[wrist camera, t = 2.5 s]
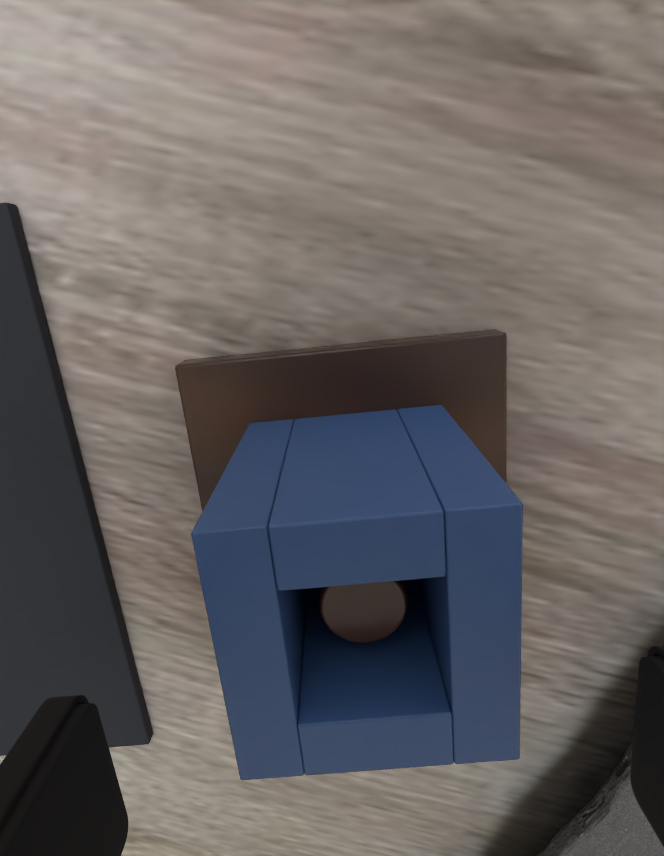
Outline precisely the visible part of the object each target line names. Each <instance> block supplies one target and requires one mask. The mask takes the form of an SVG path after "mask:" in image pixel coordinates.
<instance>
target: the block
mask: <svg viewBox="0 0 664 856" xmlns="http://www.w3.org/2000/svg"><path fill="white" fill-rule="evenodd" d="M522 524H523V504H522V502H521V501H520V500H519V499H518V497H517V496H516V495H515V494H514V492H513V491H512V490H511V489H510V488H509V486H508V485H507V484H506V483H505V481H504V480H503V479H502V478H501V477H500V475H499V474H498V473H497V472H496V470H495V469H494V468H493V467H492V466H491V464H490V463H489V462H488V461H487V460H486V458H485V457H484V456H483V455H482V453H481V452H480V451H479V450H478V449H477V447H476V446H475V445H474V444H473V442H472V441H471V440H470V439H469V438H468V436H467V435H466V434H465V433H464V431H463V430H462V429H461V428H460V427H459V425H458V424H457V423H456V422H455V420H454V419H453V418H452V417H451V416H450V414H449V413H448V412H447V411H446V409H445V408H444V407H443V406H442V405H434V406H424V407H413V408H403V409H398V410H395V409H394V410H384V411H373V412H363V413H352V414H342V415H331V416H321V417H310V418H300V419H295V420H293V419H287V420H277V421H266V422H256V423H250V424H249V426H248V427H247V429H246V431H245V433H244V435H243V437H242V439H241V441H240V442H239V444H238V446H237V448H236V450H235V452H234V454H233V456H232V458H231V459H230V461H229V463H228V465H227V467H226V469H225V471H224V473H223V474H222V476H221V478H220V480H219V482H218V484H217V486H216V488H215V489H214V491H213V493H212V495H211V497H210V499H209V501H208V503H207V505H206V506H205V508H204V510H203V512H202V514H201V516H200V518H199V520H198V521H197V523H196V525H195V527H194V529H193V531H192V533H191V536H192V541H193V545H194V550H195V555H196V560H197V565H198V570H199V575H200V580H201V585H202V590H203V595H204V600H205V605H206V610H207V615H208V620H209V625H210V630H211V635H212V640H213V645H214V650H215V655H216V660H217V665H218V670H219V675H220V680H221V685H222V690H223V695H224V700H225V705H226V710H227V715H228V720H229V725H230V730H231V735H232V740H233V745H234V750H235V755H236V760H237V765H238V770H239V775H240V779H241V780H251V779H264V778H277V777H291V776H302V775H304V772H305V775H317V774H330V773H344V772H357V771H370V770H383V769H396V768H409V767H423V766H436V765H449V764H453V762H455V764H462V763H475V762H488V761H501V760H515V759H519V758H520V686H521V605H522ZM400 580H403V581H404V586H405V590H406V594H407V600H408V607H407V612H406V615H405V618H404V620H403V622H402V623H401V625H400V626H399V627H398V628H397V629H396V630H395V631H394V632H393V633H392V634H390V635H389V636H387V637H385V638H383V639H381V640H378V641H374V642H369V643H357V642H351V641H348V640H345V639H343V638H340V637H339V636H337V635H336V634H334V633H333V632H332V631H331V630H330V629H329V628H328V627H327V625H326V624H325V623H324V621H323V619H322V617H321V614H320V609H319V596H320V587H331V586H342V585H354V584H366V583H377V582H389V581H400Z"/></svg>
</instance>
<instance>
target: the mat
mask: <svg viewBox="0 0 664 856" xmlns="http://www.w3.org/2000/svg"><path fill="white" fill-rule="evenodd" d="M74 695H84V696H85V697H86V698H87V699H88V702H89V703H94V704H95V705H96V706H97V708H98V711H99V715H100V719H101V722H102V726H103V729H104V733H105V737H106V740H107V744H108V747H117V746H130V745H143V744H149V743H150V740H151V737H152V735H153V733H152V729H151V725H150V721H149V717H148V713H147V709H146V706H145V702H144V698H143V694H142V690H141V686H140V682H139V679H138V675H137V671H136V667H135V663H134V659H133V655H132V651H131V648H130V644H129V640H128V636H127V632H126V628H125V624H124V621H123V617H122V613H121V609H120V605H119V601H118V597H117V594H116V590H115V586H114V582H113V578H112V574H111V570H110V566H109V563H108V559H107V555H106V551H105V547H104V543H103V539H102V536H101V532H100V528H99V524H98V520H97V516H96V512H95V509H94V505H93V501H92V497H91V493H90V489H89V485H88V481H87V478H86V474H85V470H84V466H83V462H82V458H81V454H80V451H79V447H78V443H77V439H76V435H75V431H74V427H73V424H72V420H71V416H70V412H69V408H68V404H67V400H66V396H65V393H64V389H63V385H62V381H61V377H60V373H59V369H58V366H57V362H56V358H55V354H54V350H53V346H52V342H51V338H50V335H49V331H48V327H47V323H46V319H45V315H44V311H43V308H42V304H41V300H40V296H39V292H38V288H37V284H36V281H35V277H34V273H33V269H32V265H31V261H30V257H29V253H28V250H27V246H26V242H25V238H24V234H23V230H22V226H21V223H20V219H19V215H18V211H17V207H16V205H14V204H9V203H0V756H2V755H7V754H8V753H9V751H10V750H11V748H12V747H13V745H14V744H15V743H16V741H17V740H18V738H19V737H20V735H21V734H22V732H23V731H24V729H25V728H26V726H27V725H28V723H29V722H30V721H31V719H32V718H33V716H34V715H35V713H36V712H37V710H38V709H39V707H40V706H41V705H42V703H43V702H44V701H45V700H46V699H48V698H51V697H62V696H74Z"/></svg>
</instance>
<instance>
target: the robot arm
mask: <svg viewBox="0 0 664 856" xmlns="http://www.w3.org/2000/svg"><path fill="white" fill-rule="evenodd" d="M630 781H631V786H632V790H633V793H634V796H635V798H636V800H637V802H638V804H639V806H640V808H641V810H642V811H643V813H644V815H645V816H646V818H647V820H648V822H649V823H650V825H651V827H652V828H653V830H654V832H655V833H656V835H657V837H658V838H659V840H660V842H661V844H662V845H663V847H664V646H655V647H651V648H650V650H649V651H648V656H647V657H642V658H641V660H640V663H639V675H638V687H637V700H636V712H635V724H634V737H633V749H632V762H631V774H630ZM127 833H128V816H127V812H126V809H125V805H124V801H123V798H122V794H121V791H120V787H119V783H118V780H117V776H116V773H115V769H114V765H113V762H112V758H111V755H110V751H109V747H108V744H107V740H106V737H105V733H104V729H103V726H102V722H101V719H100V715H99V711H98V708H97V706H96V705H95V704H94V703H89V702H88V699H87V698H86V697H85V696H84V695H74V696H62V697H51V698H48V699H46V700H45V701H44V702H43V703H42V705H41V706H40V707H39V709H38V710H37V712H36V713H35V715H34V716H33V718H32V719H31V721H30V722H29V723H28V725H27V726H26V728H25V729H24V731H23V732H22V734H21V735H20V737H19V738H18V740H17V741H16V743H15V744H14V745H13V747H12V748H11V750H10V751H9V753H8V754H7V756H6V757H5V759H4V760H3V762H2V763H1V765H0V856H121V854H122V851H123V848H124V845H125V842H126V838H127Z"/></svg>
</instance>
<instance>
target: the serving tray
mask: <svg viewBox="0 0 664 856" xmlns="http://www.w3.org/2000/svg"><path fill="white" fill-rule="evenodd" d="M632 749H633V741H632V743H631V744H630V746H629V747H628V749H627V751H626V752H625V754H624V755H623V757H622V758H621V760H620V762H619V763H618V765H617V766H616V767H615V769H614V770H613V771H612V773H611V774H610V775H609V777H608V778H607V780H606V781H605V783H604V784H603V786H602V787H601V789H600V790H599V792H598V793H597V794H596V796H595V797H594V798H593V799H592V800H591V801H590V802H589V803H588V804H587V805H586V806H585V807H584V808H583V809H582V810H580V811H579V812H578V813H577V814H576V815H575V816H574V817H573V818H572V819H571V820H570V821H569V822H568V823H566V824H565V825H564V826H563V827H562V828H561V829H560V830H559V831H558V832H557V833H556V834H555V835H554V836H553V837H552V838H551V840H550V841H549V843H548V845H547V846H546V848H545V849H543V850H542V851H541V852H540V853H539V854H538V855H536V856H664V847H663V845H662V844H661V842H660V840H659V838H658V837H657V835H656V833H655V832H654V830H653V828H652V827H651V825H650V823H649V822H648V820H647V818H646V816H645V815H644V813H643V811H642V810H641V808H640V806H639V804H638V802H637V800H636V798H635V796H634V793H633V790H632V786H631V781H630V774H631V762H632Z"/></svg>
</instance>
